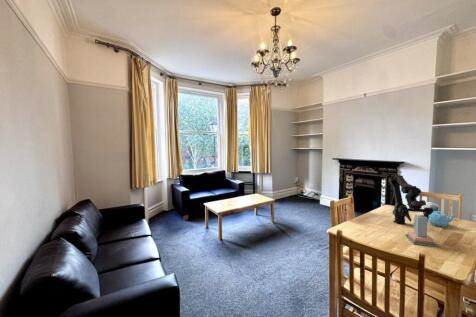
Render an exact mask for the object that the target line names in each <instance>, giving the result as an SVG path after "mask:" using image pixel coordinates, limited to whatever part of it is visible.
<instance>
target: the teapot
mask: <svg viewBox="0 0 476 317" xmlns="http://www.w3.org/2000/svg"><path fill="white" fill-rule="evenodd" d="M454 216H456V214H451V215H450V216H449V218H448V216H447V215H446V214H445V213H444V212H441V211H440V210H439V211H436V212H433V213H432V214H431V215H429V218H428V223H430V224H431V226H433V227H436V226H440V227H441V228H446V227H447V226H448V225H449V223H451V222H452V221H453V218H454Z"/></svg>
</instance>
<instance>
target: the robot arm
mask: <svg viewBox="0 0 476 317" xmlns="http://www.w3.org/2000/svg"><path fill="white" fill-rule="evenodd" d="M388 183H389V185H390V187H391V188H392V191H393V196H394V201H395V205H394V208H393V210H392V215H393V216H394V220H392V222H393V223H395V224H398V225H406V224H407V222H406V219H408V221H409V222H412V218H411V216H410V212H419V213H422V212H423V213H422V215H423V216H425V217H427V218H429V215H431V214H432V213H433V212H434V210H433V209H432V208H427V207H425V208H424V209H423V208H422V207H423V205H426V202H427V201H426V200H424V199H422V200H417V198H418V197H419V196H420V194H421V193H422V190H421V188H419V187H418V186H416V185H412V184H410V183H408V182H407V180H406V178H404V176H403V175H401V174H400V175H399V174H397V175H393V176H390V177H389V178H388ZM402 194H405V196H404V199H406V203H407V205H406V204H404V202H403V198H402Z"/></svg>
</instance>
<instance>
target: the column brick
mask: <svg viewBox="0 0 476 317" xmlns="http://www.w3.org/2000/svg"><path fill="white" fill-rule="evenodd" d="M423 215H424V214H414V222H413V223H414V224H413V225H414V226H413V232H414V234H415V235H416V236H417V237H427V235H428V223H429V220H428V218H427V217H425V216H423Z"/></svg>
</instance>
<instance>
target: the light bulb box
mask: <svg viewBox="0 0 476 317" xmlns="http://www.w3.org/2000/svg"><path fill="white" fill-rule="evenodd" d="M425 202H426V205H423V206H422V209H424V208H425V207H427V208H432V209H433V210H434V212H436V211H440V205H439V204H437V203H434V202H431V201H425Z"/></svg>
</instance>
